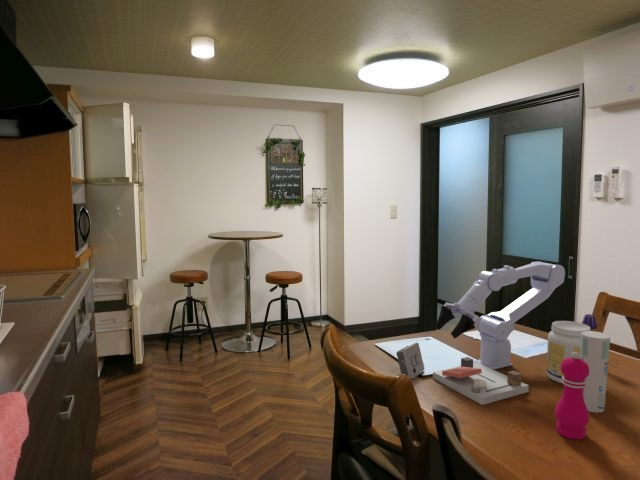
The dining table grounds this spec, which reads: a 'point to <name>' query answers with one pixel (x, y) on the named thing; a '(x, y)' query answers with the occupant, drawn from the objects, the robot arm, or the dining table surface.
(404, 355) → the electrical switch
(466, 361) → the black slider
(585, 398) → the spray can
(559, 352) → the supplement tub
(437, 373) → the console
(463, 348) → the dining table surface
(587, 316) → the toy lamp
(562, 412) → the pepper mill
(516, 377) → the walnut slider
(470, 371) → the red rocker
